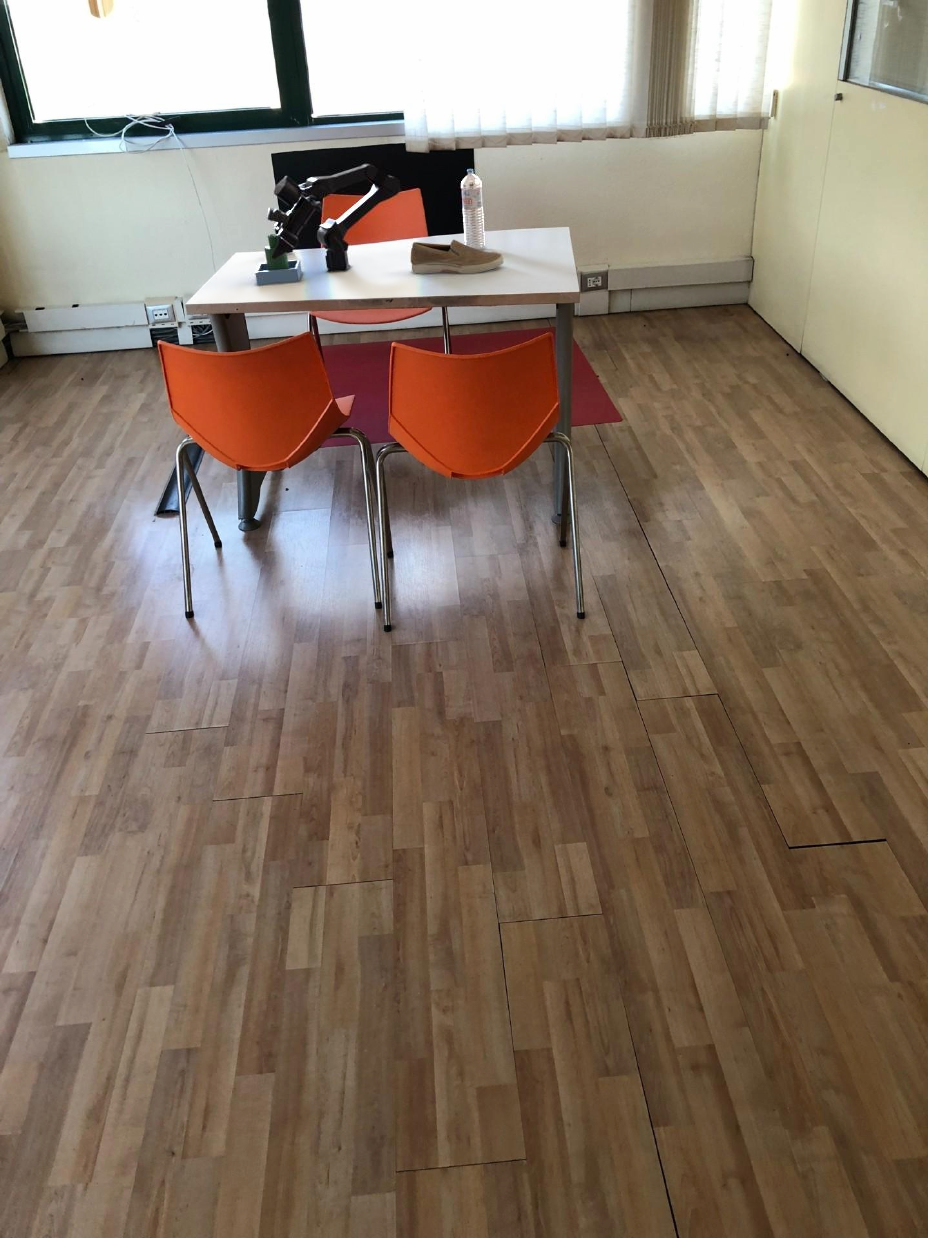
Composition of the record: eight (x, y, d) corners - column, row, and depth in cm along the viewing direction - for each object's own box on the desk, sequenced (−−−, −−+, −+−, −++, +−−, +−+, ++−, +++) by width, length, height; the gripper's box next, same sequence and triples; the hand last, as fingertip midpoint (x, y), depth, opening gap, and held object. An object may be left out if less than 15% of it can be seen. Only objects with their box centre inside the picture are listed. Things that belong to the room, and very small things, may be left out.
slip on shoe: (505, 263, 307) (504, 234, 303) (500, 272, 298) (498, 242, 293) (417, 266, 314) (414, 237, 309) (408, 275, 304) (405, 245, 300)
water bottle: (462, 248, 330) (456, 169, 316) (479, 245, 332) (475, 166, 319) (470, 252, 325) (465, 171, 311) (488, 248, 327) (484, 168, 313)
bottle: (287, 273, 316) (280, 231, 309) (292, 277, 311) (285, 234, 304) (267, 276, 315) (260, 234, 307) (272, 280, 309) (264, 238, 302)
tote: (301, 272, 318) (299, 259, 316) (299, 281, 308) (296, 268, 306) (261, 275, 318) (259, 263, 316) (257, 285, 308) (255, 272, 306)
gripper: (276, 192, 308) (248, 233, 312) (281, 201, 293) (251, 244, 297) (304, 215, 314) (277, 255, 318) (310, 226, 298) (281, 267, 303)
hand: (271, 254), depth 309 cm, fingers open, 9 cm apart
